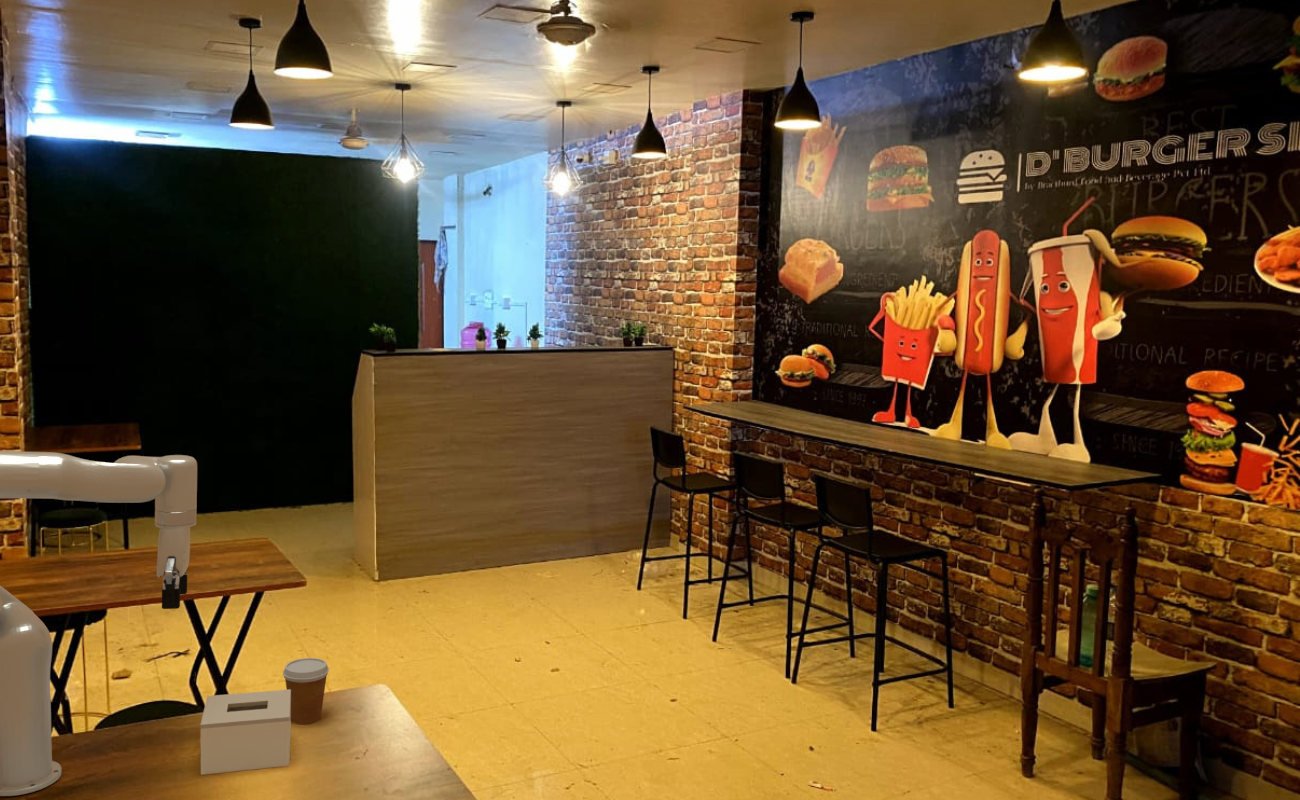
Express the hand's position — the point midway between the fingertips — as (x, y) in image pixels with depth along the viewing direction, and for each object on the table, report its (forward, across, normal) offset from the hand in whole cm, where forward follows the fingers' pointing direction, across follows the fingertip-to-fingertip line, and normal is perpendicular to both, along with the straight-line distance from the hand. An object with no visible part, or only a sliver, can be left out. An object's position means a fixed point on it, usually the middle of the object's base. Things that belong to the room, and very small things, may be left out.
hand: (174, 601), depth 205 cm
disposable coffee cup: (+29, -7, +26) cm, 39 cm away
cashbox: (+29, +8, +15) cm, 34 cm away
